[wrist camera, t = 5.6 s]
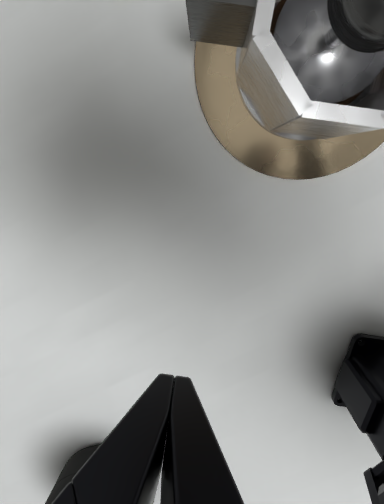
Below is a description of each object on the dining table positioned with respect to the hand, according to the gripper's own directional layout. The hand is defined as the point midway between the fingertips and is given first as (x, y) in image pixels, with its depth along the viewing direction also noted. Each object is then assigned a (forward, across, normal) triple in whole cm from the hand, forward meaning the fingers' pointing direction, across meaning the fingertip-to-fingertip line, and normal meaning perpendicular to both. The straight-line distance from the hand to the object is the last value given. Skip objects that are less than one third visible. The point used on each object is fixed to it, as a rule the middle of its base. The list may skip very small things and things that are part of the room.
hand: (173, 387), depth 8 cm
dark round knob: (+10, -5, -12) cm, 16 cm away
